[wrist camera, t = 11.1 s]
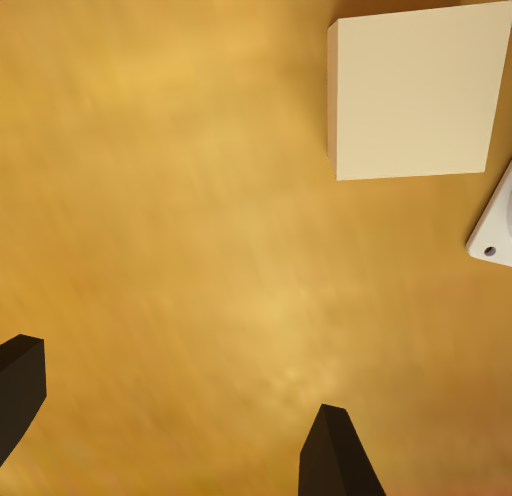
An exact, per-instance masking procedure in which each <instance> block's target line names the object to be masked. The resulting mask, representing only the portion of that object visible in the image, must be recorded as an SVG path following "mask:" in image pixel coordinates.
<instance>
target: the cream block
mask: <svg viewBox="0 0 512 496" xmlns="http://www.w3.org/2000/svg"><path fill="white" fill-rule="evenodd" d="M511 24H512V0H511V1H502V2H492V3H483V4H473V5H464V6H454V7H445V8H435V9H426V10H416V11H407V12H398V13H388V14H379V15H369V16H360V17H350V18H341V19H338V20H337V21H335V22H334V23H333V24H332V25H331V26H330V27H329V28H328V29H327V157H328V159H329V162H330V165H331V167H332V170H333V172H334V175H335V178H336V180H354V179H371V178H388V177H406V176H423V175H441V174H458V173H475V172H484V171H485V165H486V160H487V154H488V149H489V144H490V138H491V133H492V127H493V122H494V116H495V111H496V106H497V100H498V95H499V89H500V84H501V79H502V73H503V68H504V62H505V57H506V51H507V46H508V41H509V35H510V30H511Z"/></svg>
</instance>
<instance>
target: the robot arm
mask: <svg viewBox="0 0 512 496" xmlns="http://www.w3.org/2000/svg"><path fill="white" fill-rule="evenodd" d="M488 247H492V249H491V250H490V251H489V252H487V253H484V251H485V249H486V248H488ZM466 251H467V252H468V253H469V254H470V256H472V257H474V258H478V259H482V260H486V261H490V262H494V263H499V264H503V265H507V266H511V267H512V160H511V162H510V164H509V166H508V168H507V170H506V171H505V173H504V175H503V177H502V179H501V181H500V183H499V184H498V186H497V188H496V190H495V192H494V194H493V196H492V197H491V199H490V201H489V203H488V205H487V207H486V209H485V210H484V212H483V214H482V216H481V218H480V220H479V222H478V223H477V225H476V227H475V229H474V231H473V233H472V235H471V236H470V238H469V240H468V242H467V244H466ZM46 396H47V394H46V373H45V353H44V339H39V338H35V337H31V336H26V335H22V334H19V335H17V336H16V337H14V338H12V339H10V340H8V341H7V342H5V343H3V344H1V345H0V467H1V466H2V464H3V463H4V461H5V460H6V459H7V457H8V456H9V455H10V453H11V452H12V451H13V449H14V448H15V447H16V445H17V444H18V442H19V441H20V440H21V438H22V437H23V435H24V434H25V432H26V430H27V429H28V427H29V426H30V424H31V422H32V421H33V419H34V417H35V416H36V414H37V412H38V410H39V409H40V407H41V405H42V403H43V402H44V400H45V398H46ZM298 496H386V494H385V492H384V490H383V488H382V486H381V484H380V482H379V480H378V478H377V476H376V474H375V472H374V470H373V468H372V465H371V463H370V461H369V459H368V457H367V455H366V453H365V450H364V448H363V446H362V444H361V442H360V440H359V437H358V435H357V433H356V431H355V428H354V426H353V424H352V422H351V419H350V417H349V415H348V413H347V411H346V410H345V409H343V408H339V407H334V406H330V405H326V404H322V405H321V407H320V409H319V412H318V414H317V416H316V418H315V421H314V423H313V425H312V428H311V430H310V432H309V435H308V437H307V439H306V441H305V444H304V446H303V448H302V451H301V453H300V466H299V486H298Z"/></svg>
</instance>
